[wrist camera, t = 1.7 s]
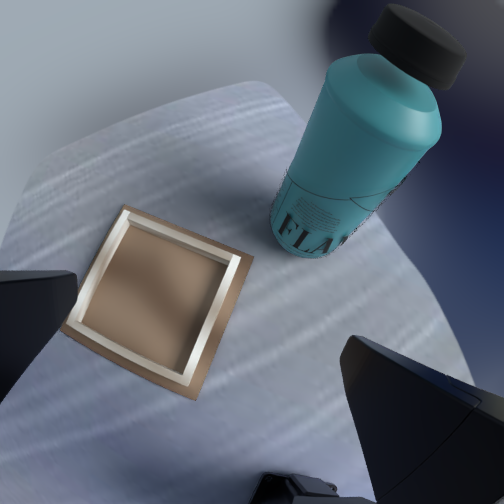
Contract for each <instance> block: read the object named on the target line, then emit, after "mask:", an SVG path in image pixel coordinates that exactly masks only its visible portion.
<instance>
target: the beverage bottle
mask: <svg viewBox="0 0 504 504" xmlns="http://www.w3.org/2000/svg"><path fill="white" fill-rule="evenodd" d="M368 39H369V41H370V43H371V45H372V46H373V47H374V48H375V50H376V51H377V52H379V53H380V54H381V55H382V56H381V55H377V54H359V55H354V56H348V57H344V58H341V59H338V60H336V61H335V62H333V63H332V64H331V65H330V67H329V68H328V70H327V73H326V78H325V82H324V85H323V87H322V90H321V92H320V95H319V97H318V100H317V102H316V105H315V107H314V110H313V112H312V115H311V117H310V120H309V122H308V125H307V127H306V130H305V132H304V135H303V137H302V140H301V142H300V145H299V147H298V150H297V152H296V155H295V157H294V159H293V161H292V163H291V165H290V167H289V169H288V172H287V174H286V177H285V176H284V175H283V176H284V177H285V179H284V181H283V182H282V183H283V184H282V186H281V189H280V188H279V190H280V191H279V193H278V192H277V193H278V196H277V198H276V201H275V203H274V202H273V203H272V204H274V205H273V206H272V207H271V208H272V211H271V210H270V211H271V212H270V213H271V215H270V213H269V219H270V218H271V224H270V225H272V226H271V227H272V231H273V233H274V235H275V237H276V239H277V241H278V242H279V243H280V244H281V246H282V247H283V248H285V249H286V250H287V251H288V252H290V253H292V254H294V255H296V256H299V257H303V258H317V257H321V256H325V255H327V254H330V252H332V251H334V249H336V248H337V246H338V245H339V244H340V243H341V242H342V241H343V242H342V244H343V243H344V242H345V241H346V240H347V238H348V236H349V234H350V233H351V232H352V231H353V230H354V229H355V228H356V227H357V226H358V225H359V224H360V223H361V222H362V221H363V220H364V219H365V218H366V217H367V216H368V215H370V213H371V212H374V211H373V210H374V209H375V208H376V207H377V206H378V204H380V203H381V202H382V201H383V200H384V198H385V197H386V196H387V195H388V194H389V195H391V194H392V193H393V192H394V190H396V189H394V188H395V187H397V186H398V183H399V182H400V181H401V180H402V181H403V179H405V178H406V177H407V176H406V175H407V174H408V173H409V171H410V170H411V169H412V168H413V167H414V166H415V164H416V163H417V162H419V159H420V158H421V157H422V156H423V155H424V154H425V152H426V151H427V150H428V149H429V148H431V147H432V146H433V145H435V143H436V142H437V141H438V140H439V138H440V135H441V130H442V128H441V118H440V114H439V110H438V106H437V103H436V100H435V98H434V96H433V93H432V92H431V90H430V89H429V88H428V86H430V87H433V88H436V89H439V90H448V89H449V88H450V87H451V86H452V84H453V83H454V81H455V80H456V76H457V74H458V72H459V71H460V69H461V67H462V66H463V64H464V62H465V60H466V57H467V54H466V51H465V49H464V48H463V47H462V45H461V44H460V43H459V42H458V41H457V40H456V39H455V38H454V37H453V36H452V35H451V34H450V33H448V32H447V31H446V30H444V29H443V28H442V27H440V26H439V25H438V24H436V23H435V22H433V21H432V20H430V19H428V18H427V17H425V16H423V15H421V14H419V13H418V12H416V11H414V10H411V9H409V8H407V7H404V6H401V5H397V4H388V5H387V6H386V7H385V8H384V10H383V11H382V13H381V15H380V17H379V18H378V20H377V22H376V23H375V24H374V25H373V26H372V28H371V30H370V32H369V35H368ZM427 85H428V86H427ZM419 163H420V162H419ZM285 171H287V169H286V170H285ZM405 176H406V177H405ZM402 181H401V182H402ZM402 183H403V182H402ZM399 186H400V185H399ZM393 189H394V190H393ZM392 190H393V192H392V193H391V191H392ZM390 193H391V194H390ZM276 195H277V194H276ZM372 214H373V213H372ZM366 219H367V218H366ZM367 220H368V219H367ZM367 220H366V221H367ZM364 223H365V222H364ZM362 225H363V224H362ZM357 228H358V229H359V226H358V227H357ZM357 228H356V229H357ZM356 231H357V230H356ZM356 231H354V232H356ZM352 234H353V233H352ZM352 234H351V235H352ZM342 244H340V245H342ZM340 245H339V246H340ZM335 251H336V250H335ZM333 253H334V252H333ZM325 257H326V256H325ZM321 258H322V257H321Z"/></svg>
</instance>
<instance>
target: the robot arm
mask: <svg viewBox="0 0 504 504" xmlns="http://www.w3.org/2000/svg"><path fill="white" fill-rule="evenodd" d="M77 299H78V287H77V275H76V274H75V273H73V272H70V271H66V270H49V271H0V404H1V402H2V401H3V399H4V398H5V397H6V395H7V394H8V393H9V391H10V390H11V388H12V387H13V386H14V384H15V383H16V382H17V380H18V379H19V378H20V376H21V375H22V374H23V373H24V371H25V370H26V369H27V367H28V366H29V365H30V364H31V362H32V361H33V360H34V359H35V357H36V356H37V355H38V354H39V352H40V351H41V350H42V349H43V348H44V346H45V345H46V344H47V343H48V342H49V340H50V339H51V338H52V337H53V336H54V334H55V333H56V332H57V331H58V329H59V328H60V326H61V325H62V323H63V322H64V320H65V319H66V317H67V316H68V314H69V313H70V312H71V310H72V309H73V307H74V306H75V304H76V302H77ZM340 366H341V372H342V377H343V383H344V388H345V393H346V397H347V401H348V404H349V407H350V410H351V414H352V417H353V420H354V423H355V427H356V430H357V434H358V437H359V440H360V444H361V447H362V451H363V454H364V458H365V461H366V465H367V469H368V472H369V476H370V480H371V483H372V487H373V491H374V495H375V499H376V501H377V503H375V502H373V501H370V500H368V499H365V498H363V497H339V495H338V494H337V493H336V491H337V487H336V486H335V485H334V484H332V483H324V482H323V481H322V480H321V479H319V478H312V477H307V476H301V475H296V474H292V475H290V476H285V475H280V474H276V473H271V472H266V473H264V474H263V475H262V476H261V478H260V481H259V483H258V485H257V487H256V489H255V491H254V493H253V495H252V497H251V499H250V501H249V503H248V504H504V398H503V397H500V396H498V395H495V394H493V393H490V392H487V391H485V390H482V389H479V388H477V387H474V386H472V385H469V384H467V383H465V382H462V381H460V380H458V379H455V378H453V377H451V376H449V375H445V374H443V373H441V372H439V371H436V370H434V369H432V368H430V367H427V366H425V365H423V364H421V363H419V362H416V361H414V360H412V359H410V358H408V357H406V356H403V355H401V354H399V353H397V352H395V351H393V350H390V349H388V348H386V347H384V346H382V345H380V344H378V343H375V342H373V341H371V340H369V339H367V338H365V337H363V336H357V335H352V336H350V337H349V339H348V341H347V343H346V345H345V347H344V349H343V351H342V353H341V356H340ZM268 476H270V477H271V478H270V479H269V480H266V477H268ZM332 487H333V488H332ZM331 488H332V489H331Z"/></svg>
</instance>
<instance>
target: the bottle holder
mask: <svg viewBox="0 0 504 504" xmlns="http://www.w3.org/2000/svg"><path fill="white" fill-rule="evenodd" d="M253 258H254V256H251V255H249V254H246V253H244V252H241V251H239V250H236V249H234V248H231V247H229V246H226V245H224V244H221V243H219V242H216V241H214V240H211V239H209V238H207V237H204V236H202V235H199V234H197V233H194V232H192V231H189V230H187V229H184V228H182V227H179V226H177V225H174V224H172V223H169V222H167V221H165V220H162V219H160V218H157V217H155V216H152V215H150V214H147V213H145V212H142V211H140V210H138V209H135V208H133V207H130V206H128V205H125V204H124V206H123V207H122V209H121V211H120V212H119V214H118V216H117V217H116V219H115V221H114V223H113V224H112V226H111V228H110V229H109V231H108V233H107V235H106V237H105V238H104V240H103V242H102V244H101V246H100V247H99V249H98V251H97V253H96V255H95V257H94V259H93V261H92V263H91V264H90V266H89V268H88V270H87V272H86V274H85V276H84V278H83V280H82V282H81V285H80V287H79V289H78V299H77V302H76V304H75V306H74V307H73V309H72V310H71V312H70V313H69V314H68V316H67V317H66V319H65V320H64V322H63V324H62V327H61V329H60V331H62V332H63V333H65V334H66V335H68V336H70V337H71V338H73V339H74V340H76V341H78V342H79V343H81V344H83V345H84V346H86V347H88V348H89V349H91V350H93V351H94V352H96V353H98V354H100V355H101V356H103V357H105V358H107V359H108V360H110V361H112V362H114V363H116V364H118V365H120V366H121V367H123V368H125V369H127V370H129V371H131V372H133V373H135V374H137V375H139V376H141V377H143V378H145V379H147V380H149V381H151V382H153V383H156V384H158V385H160V386H162V387H164V388H167V389H169V390H171V391H173V392H176V393H178V394H180V395H183V396H185V397H187V398H190V399H192V400H195V401H196V399H197V397H198V394H199V392H200V390H201V387H202V385H203V382H204V380H205V377H206V375H207V372H208V370H209V367H210V365H211V362H212V360H213V358H214V355H215V353H216V350H217V348H218V345H219V343H220V340H221V338H222V335H223V333H224V330H225V328H226V325H227V323H228V320H229V318H230V316H231V313H232V311H233V308H234V306H235V303H236V301H237V298H238V296H239V293H240V291H241V288H242V286H243V283H244V281H245V278H246V276H247V273H248V271H249V268H250V266H251V263H252V261H253Z"/></svg>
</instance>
